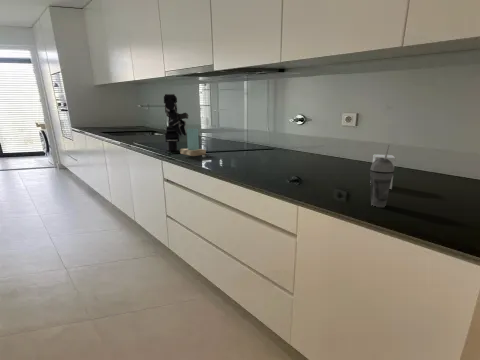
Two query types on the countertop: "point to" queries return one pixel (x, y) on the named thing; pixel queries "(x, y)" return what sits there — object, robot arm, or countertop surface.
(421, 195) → the countertop surface
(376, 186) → the beverage cup
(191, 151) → the birch base block
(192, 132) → the teal tall block
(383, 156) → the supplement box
